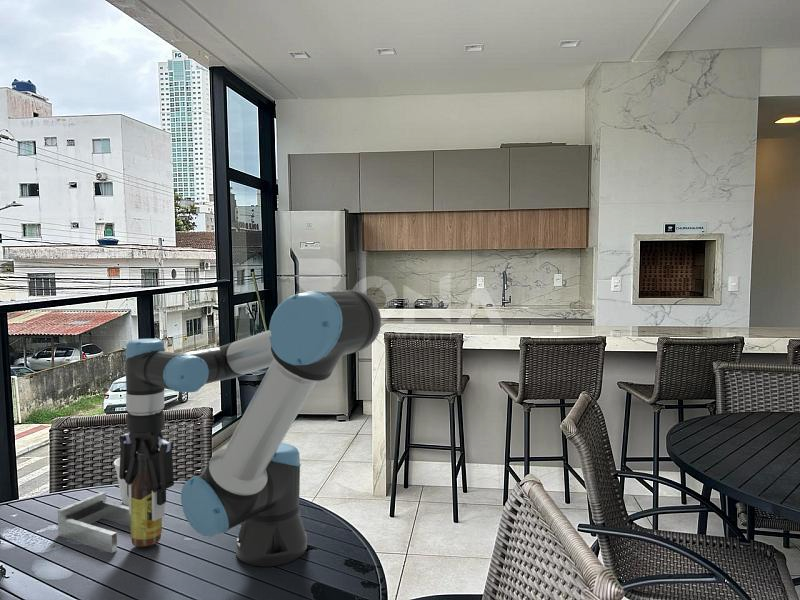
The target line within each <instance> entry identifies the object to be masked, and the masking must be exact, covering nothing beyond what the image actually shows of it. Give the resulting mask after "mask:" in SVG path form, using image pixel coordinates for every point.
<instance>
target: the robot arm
mask: <svg viewBox="0 0 800 600" xmlns="http://www.w3.org/2000/svg"><path fill="white" fill-rule="evenodd" d="M381 316H382V315H381V311H380V309H379V306H378V305H377V304H376V302H375V301H374V300H373V298H371V297H370V296H369V295H367V294H366V293H364V292H362V291H358V290H355V289H344V290H343V289H342V290H333V291H330V290H329V291H319V290H308V291H304V292H302V293H301V292H300V293H297V294H292V295H290V296H289V297H287V298H286V299H284V300H282V302H281V303H279V304H278V305H277V307H276V309H275V310H274V311H273V314H272V315H271V318H270V321H269V327H268V330H266V331H262V332H258V333H257V334H254V335H251V336H248V337H244V338H241V339H239V340H235V341H233V342H229V343H227V344H224V345H221V346H214V347H211V348H210V347H209V348H203V349H196V350H190V351H184V352H170V351H165V350H166V349H165V343H164V341H163V340H162V339H159V338H138V339H132V340H130V341H128V342H127V343H126V348H125V359H124V362H125V386H126V387H125V388H126V389H125V390H126V393H125V410H126V411H127V414H126V415H125V417H126V418H125V419H126V430H127V431H128V433H125V434H121V435H119V437H118V440H119V444H120V450H119V451H120V452H119V453H120V456H119V458H120V473H119V477H120V479H124V480H125V482H126V483H127V495H128V497H129V506H128V507H129V514H131V495H132V483H133V481H134V479H135V477H136V476H137V474H138V459H137V453H141V454H144V455H145V459H146V460H148V462H149V467H150V471H151V475H152V479H153V483H154V487H155V489H154V490H152V520H153V521H156V520H158V519H160V518H162V519H163V518H164V517H165V514H166V513H165V507H166V506H165V504H166V503H167V489H169V488H172V487H174V485H175V481H174V480H175V478H174V464H173V463H174V461H173V449H174V441H172V440H170V441H168V440H166V439H164V436H163V432H162V430H163V429H164V427H165V425H166V424H165V418H166V416H165V414H166V413H165V410H164V408H165V389H166V390H170V391H174V392H178V393H194V392H195V393H196V392H198V391H200V390H201V388H203V387H204V386H205V385H208V384H212V383H216V382H219V381H220V382H221V381H225V380H233V379H235V378H239V377H242V376H244V375H247V374H249V373H254V372H256V371H257V372H258V371H260V370H264V369H266V368H268V369H267V370H266V372H265V374H264V376H263V378H262V380H261V382H260V384H259V385H258V388H257V389H256V391H255V393H254V394H253V397H252V398H251V400H250V402H249V403H248V406H247V408H246V410H245V411H244V413H243V414H242V417H241V419H240V420H239V423H238V424H237V427H236V428H235V429H234V432H233V434H232V435H231V437H230V440H229V441H228V443H227V444H226V447H224V448H221V449H219V450H217V451H215V453H213V454H212V456H211V457H210V459H209V461H208V462H207V465H206V466H205V469H204V470H203V471H202V473H201V474H199V475H193V476H192V477H190V479H188V480H186V481H185V483H184V484H183V485H182V487H181V492H180V503H181V508H182V511H183V514H184V517H185V518H186V520H187V522H188V524H189V526H191V527H192V529H193V530H194V531H196V533H198V534H199V535H201V536H203V537H208V538H214V537H216V536H219V535H221V534H225V533H227V532H228V531H230V530H231V529H233V528H235V527H236V526H238V525H240V524H241V526H240V529H239V532H238V535H237V537H236V542H235V546H236V547H235V553H236V556H237V559H239V560H240V561H241V562H242V563H244V564H248V565H250V566H255V567H276V566H277V567H278V566H281V565H286V564H288V563H291V562H293V561H295V560H297V559H299V558H300V557H302V556H303V555H304V554H305V553H306V551H307V548H308V536H307V532H306V530H305V527H304V523H303V520H302V516H301V513H300V493H301V492H300V488H301V486H300V482H301V477H300V476H301V462H300V461H301V458H300V452H299V449H298V448H297V447H296V446H294V445H292V444H290V443H289V444H288V443H286V442H283V440H284V438H285V437H286V435H287V433H288V432H289V430H290V428H291V427H292V424H293V423H294V422H295V419H296V418H297V416H298V414H300V413H299V412H300V411H301V409H302V408H303V406H304V404H305V403H306V401H307V399H308V397H309V395H310V394H311V392H312V390H313V389H314V387H315V386H316V384H317V383H321V382H325V381H326V380H328V379H329V378H330V377H331V375H332V373H333V371H334V370H335V368H336V367H337V365H338V363H339V361H340V360H341V358H342V357H343V356H346V355H350V354H354V353H357V352H361V351H362V350H365V349H367V348H368V347H370V346H371V345H372V344H373V343H374V342H375V341H376V339H377V337H378V336H379V334H380V330H381V327H382V326H381V325H382V317H381ZM155 452H156V454H153V453H155ZM151 454H153V455H151ZM125 471H127V472H125ZM160 483H161V484H160Z"/></svg>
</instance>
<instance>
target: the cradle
mask: <svg viewBox="0 0 800 600" xmlns="http://www.w3.org/2000/svg"><path fill="white" fill-rule="evenodd" d="M102 519H103V520H105V521H110V522H113V523H117V524H120V525H123V526H125V527H130V528H131V514H129V506H128V505H125V504H121V503H117V502H114V501H109V500H107V492H106V491H101V492H98V493H95V494H93V495H91V496H88V497H86V498H84V499H82V500H78V501H76V502H74V503H72V504H71V503H70V504H68V505H66V506H64V507H61V508H59V509H57V531H58V533H57V535H58V537H61V538H64V539H67V540H70V541H74V542H76V543H79V544H82V545H85V546H89V547H92V548H94V549H98V550H100V551H103V552H106V553H110V554H114V553H115V552H117V551H118V540H117V539H118V536H117V532H116V531H113V530H109V529H106V528H102V527H99V526H96V525H92V524H93V522H94V523H95V522H97V521H100V520H102Z"/></svg>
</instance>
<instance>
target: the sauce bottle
mask: <svg viewBox="0 0 800 600" xmlns="http://www.w3.org/2000/svg"><path fill="white" fill-rule="evenodd" d="M153 454H156V452H155V453H153ZM153 454H151V455H153ZM137 459H138V474H137V476H136V477H135V479H134V481H133V483H132V495H131V527H130V537H131V539H130V540H131V544H132V546H134V547H139V548H140V547H141V548H144V547H150V546H152V545H155V544H157V543H158V542H159V541H160V540H161V538H162V533H163V517H162V518H160V519H158V520H156V521H153V520H152V490H154V489H155V487H154V483H153V479H152V475H151V471H150V467H149V462H148V460H146V459H145V455H144V454H141V453H137ZM160 484H161V483H160Z"/></svg>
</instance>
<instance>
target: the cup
mask: <svg viewBox="0 0 800 600" xmlns="http://www.w3.org/2000/svg"><path fill="white" fill-rule="evenodd" d="M113 465H114V467H115V471H116V477H117V481H118V486H119V491H120V498H121V502H122V503H123V505H125V506H128V507H129V497H128V495H127V483H126V482H125V480H124V479H120V477H119V473H120V457H117V458H116V459H115V460H114V461H113ZM125 472H127V471H125Z"/></svg>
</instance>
